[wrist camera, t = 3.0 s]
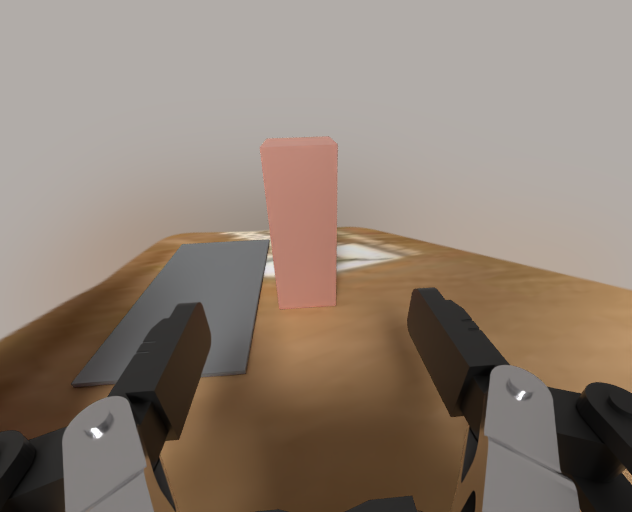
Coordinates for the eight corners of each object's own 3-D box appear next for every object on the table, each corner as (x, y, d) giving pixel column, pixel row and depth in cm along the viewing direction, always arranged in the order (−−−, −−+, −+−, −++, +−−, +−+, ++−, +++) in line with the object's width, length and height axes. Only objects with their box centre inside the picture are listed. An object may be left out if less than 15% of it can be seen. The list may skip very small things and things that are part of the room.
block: (329, 274, 26) (329, 136, 20) (335, 305, 22) (337, 144, 16) (281, 277, 25) (266, 138, 20) (279, 309, 21) (259, 147, 16)
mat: (269, 241, 32) (269, 239, 32) (245, 373, 16) (244, 370, 16) (182, 246, 32) (182, 244, 31) (73, 387, 16) (70, 383, 16)
